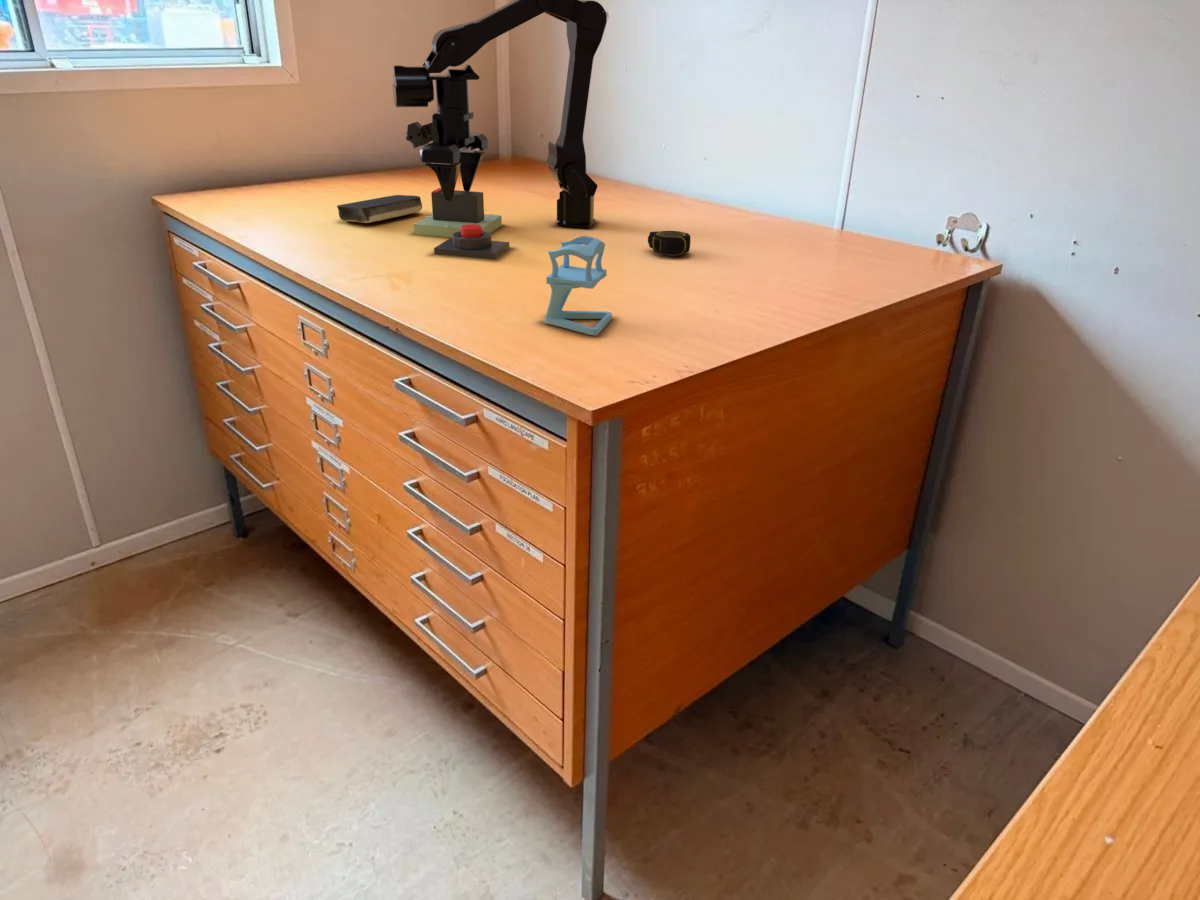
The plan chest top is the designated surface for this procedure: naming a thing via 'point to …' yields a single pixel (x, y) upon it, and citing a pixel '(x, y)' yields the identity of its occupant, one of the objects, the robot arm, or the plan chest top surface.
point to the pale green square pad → (454, 225)
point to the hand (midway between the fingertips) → (457, 195)
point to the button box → (472, 247)
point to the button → (471, 231)
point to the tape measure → (669, 242)
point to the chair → (575, 284)
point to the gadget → (458, 206)
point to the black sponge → (380, 208)
